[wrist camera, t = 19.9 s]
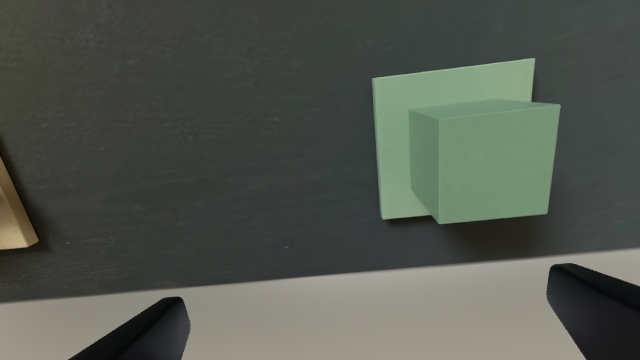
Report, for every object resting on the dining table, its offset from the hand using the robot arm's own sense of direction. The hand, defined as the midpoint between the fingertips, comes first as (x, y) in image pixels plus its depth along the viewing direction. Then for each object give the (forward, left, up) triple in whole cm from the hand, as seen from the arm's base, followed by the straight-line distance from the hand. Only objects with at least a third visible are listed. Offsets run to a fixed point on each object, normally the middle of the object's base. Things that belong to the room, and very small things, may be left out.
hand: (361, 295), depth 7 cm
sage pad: (+1, -6, -11) cm, 12 cm away
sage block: (+1, -6, -10) cm, 12 cm away
